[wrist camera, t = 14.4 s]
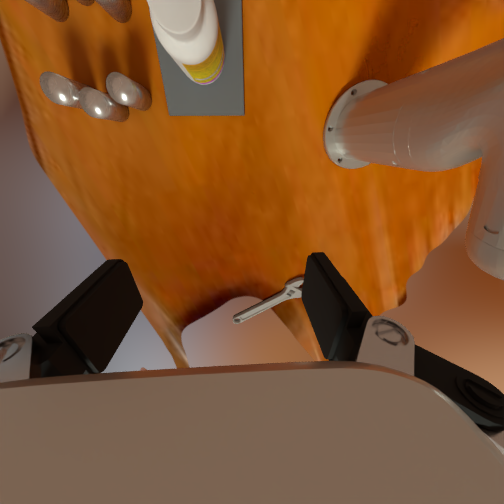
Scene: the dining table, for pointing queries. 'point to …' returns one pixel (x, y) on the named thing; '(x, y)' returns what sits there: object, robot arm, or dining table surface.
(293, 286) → the adjustable wrench
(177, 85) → the rubber mat
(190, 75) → the supplement bottle
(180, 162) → the dining table surface
